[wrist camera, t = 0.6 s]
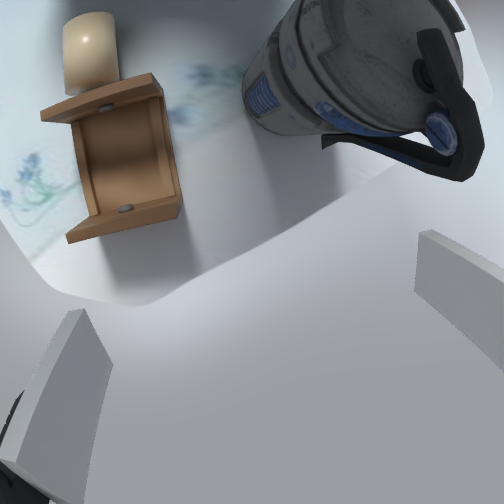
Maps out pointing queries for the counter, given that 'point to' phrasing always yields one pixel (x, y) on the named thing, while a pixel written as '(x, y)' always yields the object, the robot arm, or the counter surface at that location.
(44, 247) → the counter surface
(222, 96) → the counter surface
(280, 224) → the counter surface
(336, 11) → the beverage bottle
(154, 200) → the holder
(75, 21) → the cylinder
